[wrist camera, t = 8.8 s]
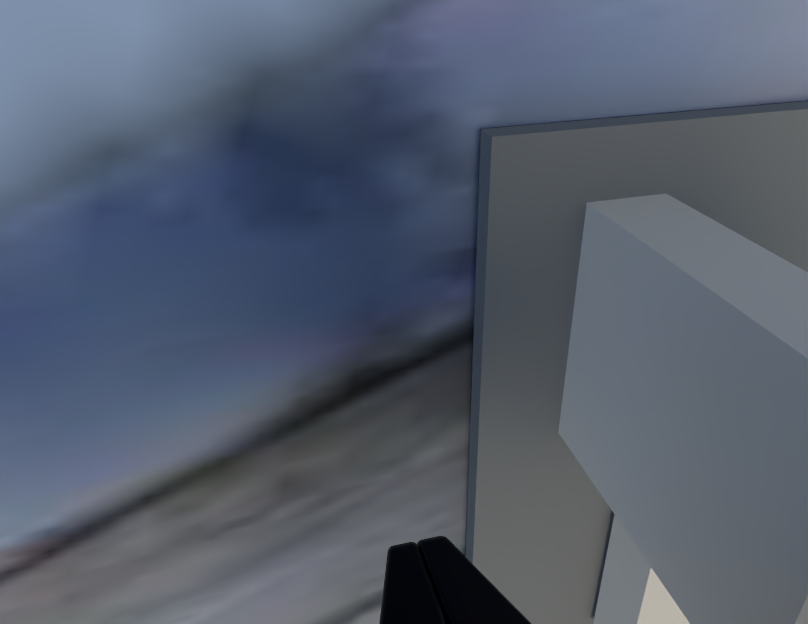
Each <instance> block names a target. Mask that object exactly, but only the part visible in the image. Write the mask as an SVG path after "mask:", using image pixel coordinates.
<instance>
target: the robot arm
mask: <svg viewBox="0 0 808 624" xmlns="http://www.w3.org/2000/svg"><path fill="white" fill-rule="evenodd" d="M380 624H532V623H531V622H530V621H529V620H528V619H527V618H526V617H525V616H524V615H523V614H522V613H521V612H520V611H519V610H518V609H517V608H516V607H515V606H514V605H513V604H512V603H511V602H510V601H509V600H508V599H507V598H506V597H505V596H504V595H503V594H502V593H501V592H500V591H499V590H498V589H497V588H496V587H495V586H494V585H493V584H492V583H491V582H490V581H489V580H488V579H487V578H486V577H485V576H484V575H483V574H482V573H481V572H480V571H479V570H478V569H477V568H476V567H475V566H474V565H473V564H472V563H471V562H470V561H469V560H468V559H467V558H466V557H465V556H464V555H463V554H462V553H461V552H460V551H459V550H458V549H457V548H456V547H455V546H454V544H453V543H452V542H451V541H450V540H448V539H447V538H446V537H444V536H437V537H432V538H428V539H423V540H420V541H419V542H418V543H417V544H416V543H414V542H409V543H404V544H399V545H394V546H391V547H390V548H389V550H388V555H387V563H386V572H385V580H384V589H383V598H382V606H381V615H380Z"/></svg>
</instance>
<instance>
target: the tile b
mask: <svg viewBox="0 0 808 624" xmlns="http://www.w3.org/2000/svg"><path fill="white" fill-rule="evenodd" d="M558 433H559V434H560V436H561V437H562V439H563V440H564V442H565V443H566V444H567V446H568V447H569V449H570V450H571V452H572V453H573V455H574V456H575V458H576V459H577V460H578V462H579V463H580V465H581V466H582V468H583V469H584V471H585V472H586V473H587V475H588V476H589V478H590V479H591V481H592V482H593V484H594V485H595V487H596V488H597V489H598V491H599V492H600V494H601V495H602V497H603V498H604V500H605V501H606V503H607V504H608V505H609V507H610V508H611V510H612V511H613V513H614V514H615V516H616V517H617V519H618V520H619V521H620V523H621V524H622V526H623V527H624V529H625V530H626V532H627V533H628V534H629V536H630V537H631V539H632V540H633V542H634V543H635V545H636V546H637V548H638V549H639V550H640V552H641V553H642V555H643V556H644V558H645V559H646V561H647V562H648V564H649V565H650V566H651V568H652V569H653V571H654V572H655V574H656V575H657V577H658V578H659V580H660V581H661V582H662V584H663V585H664V587H665V588H666V590H667V591H668V593H669V594H670V595H671V597H672V598H673V600H674V601H675V603H676V604H677V606H678V607H679V609H680V610H681V611H682V613H683V614H684V616H685V617H686V619H687V620H688V622H689V623H690V624H808V272H806V271H804V270H802V269H801V268H799V267H797V266H795V265H793V264H792V263H790V262H788V261H786V260H784V259H783V258H781V257H779V256H777V255H776V254H774V253H772V252H770V251H768V250H767V249H765V248H763V247H761V246H759V245H758V244H756V243H754V242H752V241H750V240H749V239H747V238H745V237H743V236H742V235H740V234H738V233H736V232H734V231H733V230H731V229H729V228H727V227H725V226H724V225H722V224H720V223H718V222H716V221H715V220H713V219H711V218H709V217H708V216H706V215H704V214H702V213H700V212H699V211H697V210H695V209H693V208H691V207H690V206H688V205H686V204H684V203H682V202H681V201H679V200H677V199H675V198H674V197H672V196H670V195H668V194H657V195H648V196H639V197H631V198H622V199H613V200H604V201H595V202H587V205H586V213H585V221H584V229H583V237H582V245H581V253H580V261H579V269H578V277H577V285H576V294H575V302H574V310H573V318H572V326H571V334H570V342H569V350H568V358H567V366H566V374H565V382H564V390H563V398H562V406H561V414H560V423H559V431H558Z"/></svg>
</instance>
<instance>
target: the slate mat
mask: <svg viewBox="0 0 808 624" xmlns="http://www.w3.org/2000/svg"><path fill="white" fill-rule="evenodd" d="M657 194H668V195H670V196H672V197H674V198H675V199H677V200H679V201H681V202H682V203H684V204H686V205H688V206H690V207H691V208H693V209H695V210H697V211H699V212H700V213H702V214H704V215H706V216H708V217H709V218H711V219H713V220H715V221H716V222H718V223H720V224H722V225H724V226H725V227H727V228H729V229H731V230H733V231H734V232H736V233H738V234H740V235H742V236H743V237H745V238H747V239H749V240H750V241H752V242H754V243H756V244H758V245H759V246H761V247H763V248H765V249H767V250H768V251H770V252H772V253H774V254H776V255H777V256H779V257H781V258H783V259H784V260H786V261H788V262H790V263H792V264H793V265H795V266H797V267H799V268H801V269H802V270H804V271H806V272H808V101H801V102H789V103H778V104H766V105H754V106H743V107H731V108H720V109H708V110H696V111H685V112H673V113H661V114H650V115H638V116H626V117H615V118H603V119H591V120H580V121H568V122H557V123H545V124H533V125H522V126H510V127H498V128H487V129H481V142H480V170H479V197H478V225H477V252H476V279H475V307H474V334H473V362H472V389H471V417H470V444H469V472H468V499H467V526H466V554H465V557H466V558H467V559H468V560H469V561H470V562H471V563H472V564H473V565H474V566H475V567H476V568H477V569H478V570H479V571H480V572H481V573H482V574H483V575H484V576H485V577H486V578H487V579H488V580H489V581H490V582H491V583H492V584H493V585H494V586H495V587H496V588H497V589H498V590H499V591H500V592H501V593H502V594H503V595H504V596H505V597H506V598H507V599H508V600H509V601H510V602H511V603H512V604H513V605H514V606H515V607H516V608H517V609H518V610H519V611H520V612H521V613H522V614H523V615H524V616H525V617H526V618H527V619H528V620H529V621H530V622H531V623H532V624H593V622H594V616H595V611H596V606H597V601H598V596H599V591H600V586H601V581H602V576H603V570H604V565H605V560H606V555H607V550H608V545H609V540H610V535H611V530H612V524H613V519H614V513H613V511H612V510H611V508H610V507H609V505H608V504H607V503H606V501H605V500H604V498H603V497H602V495H601V494H600V492H599V491H598V489H597V488H596V487H595V485H594V484H593V482H592V481H591V479H590V478H589V476H588V475H587V473H586V472H585V471H584V469H583V468H582V466H581V465H580V463H579V462H578V460H577V459H576V458H575V456H574V455H573V453H572V452H571V450H570V449H569V447H568V446H567V444H566V443H565V442H564V440H563V439H562V437H561V436H560V434H559V433H558V431H559V423H560V414H561V406H562V398H563V390H564V382H565V374H566V366H567V358H568V350H569V342H570V334H571V326H572V318H573V310H574V302H575V294H576V285H577V277H578V269H579V261H580V253H581V245H582V237H583V229H584V221H585V213H586V205H587V202H595V201H604V200H613V199H622V198H631V197H639V196H648V195H657Z"/></svg>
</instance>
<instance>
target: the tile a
mask: <svg viewBox="0 0 808 624" xmlns="http://www.w3.org/2000/svg"><path fill="white" fill-rule="evenodd" d="M593 624H690V623H689V622H688V620H687V619H686V617H685V616H684V614H683V613H682V611H681V610H680V609H679V607H678V606H677V604H676V603H675V601H674V600H673V598H672V597H671V595H670V594H669V593H668V591H667V590H666V588H665V587H664V585H663V584H662V582H661V581H660V580H659V578H658V577H657V575H656V574H655V572H654V571H653V569H652V568H651V566H650V565H649V564H648V562H647V561H646V559H645V558H644V556H643V555H642V553H641V552H640V550H639V549H638V548H637V546H636V545H635V543H634V542H633V540H632V539H631V537H630V536H629V534H628V533H627V532H626V530H625V529H624V527H623V526H622V524H621V523H620V521H619V520H618V519H617V517H616V516H615V514H614V519H613V524H612V530H611V535H610V540H609V545H608V550H607V555H606V560H605V565H604V570H603V576H602V581H601V586H600V591H599V596H598V601H597V606H596V611H595V616H594V622H593Z"/></svg>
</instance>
